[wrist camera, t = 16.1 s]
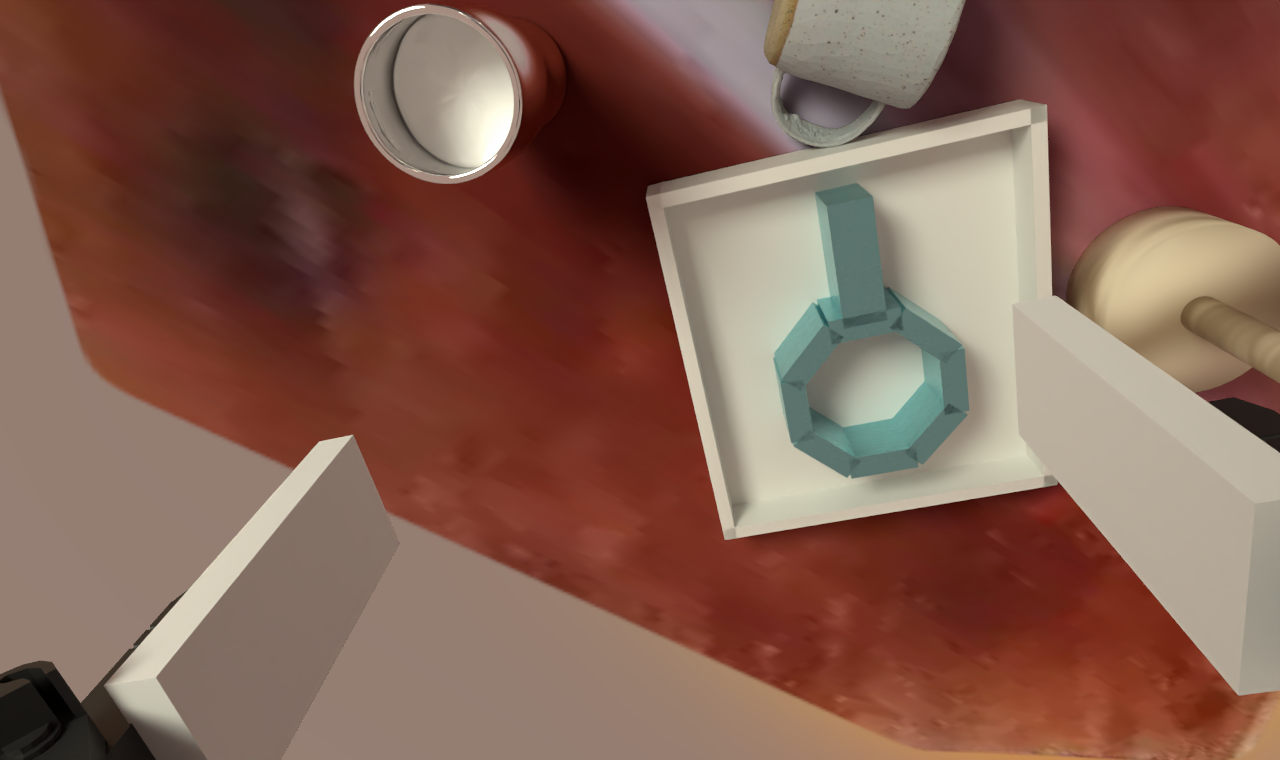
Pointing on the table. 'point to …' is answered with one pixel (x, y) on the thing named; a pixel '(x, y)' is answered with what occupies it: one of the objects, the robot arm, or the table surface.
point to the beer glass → (456, 89)
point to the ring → (861, 314)
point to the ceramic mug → (858, 54)
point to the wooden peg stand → (1185, 294)
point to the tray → (874, 366)
